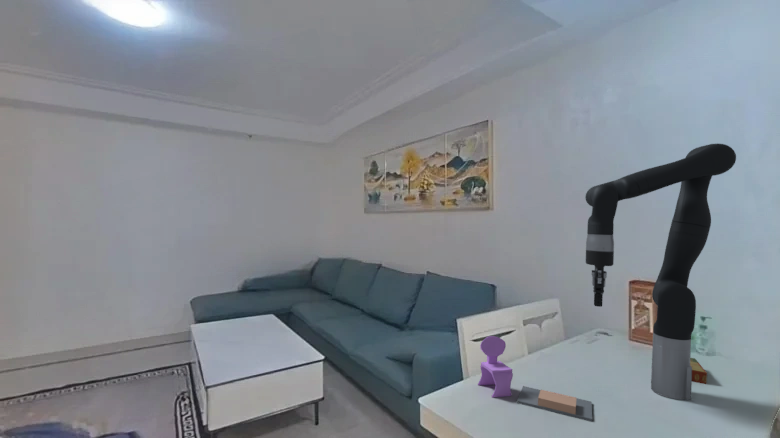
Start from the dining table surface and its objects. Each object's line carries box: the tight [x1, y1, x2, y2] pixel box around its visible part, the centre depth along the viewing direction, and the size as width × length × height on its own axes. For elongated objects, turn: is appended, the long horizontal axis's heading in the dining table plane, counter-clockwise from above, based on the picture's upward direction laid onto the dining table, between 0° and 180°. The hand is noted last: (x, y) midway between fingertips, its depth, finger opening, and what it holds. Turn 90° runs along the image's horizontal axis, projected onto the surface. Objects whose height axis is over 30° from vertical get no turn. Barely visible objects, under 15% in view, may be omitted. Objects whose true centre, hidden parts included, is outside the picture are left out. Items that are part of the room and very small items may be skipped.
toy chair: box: [477, 335, 514, 398], centre depth 110 cm, size 8×9×15 cm
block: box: [538, 389, 577, 415], centre depth 101 cm, size 9×2×6 cm
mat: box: [516, 385, 593, 422], centre depth 104 cm, size 18×11×1 cm, turn 63°
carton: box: [690, 357, 708, 385], centre depth 131 cm, size 8×16×4 cm, turn 152°
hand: (598, 305), depth 116 cm, fingers closed
